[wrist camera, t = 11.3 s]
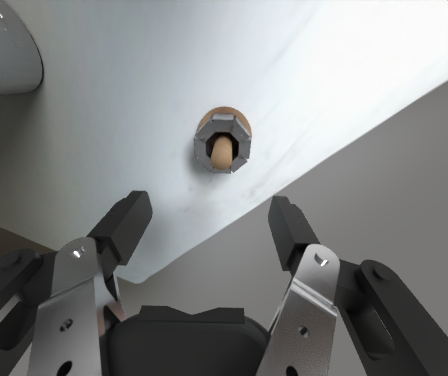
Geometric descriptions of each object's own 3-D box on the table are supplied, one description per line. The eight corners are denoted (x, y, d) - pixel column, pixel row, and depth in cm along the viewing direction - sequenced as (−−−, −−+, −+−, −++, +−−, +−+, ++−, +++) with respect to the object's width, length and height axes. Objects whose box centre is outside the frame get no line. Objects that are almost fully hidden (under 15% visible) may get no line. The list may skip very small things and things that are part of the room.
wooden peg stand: (209, 165, 24) (201, 198, 18) (189, 118, 21) (169, 136, 14) (256, 151, 23) (265, 181, 16) (242, 97, 19) (248, 108, 13)
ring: (223, 167, 23) (221, 182, 20) (191, 136, 21) (183, 147, 18) (256, 138, 21) (261, 150, 17) (224, 100, 19) (222, 105, 15)
